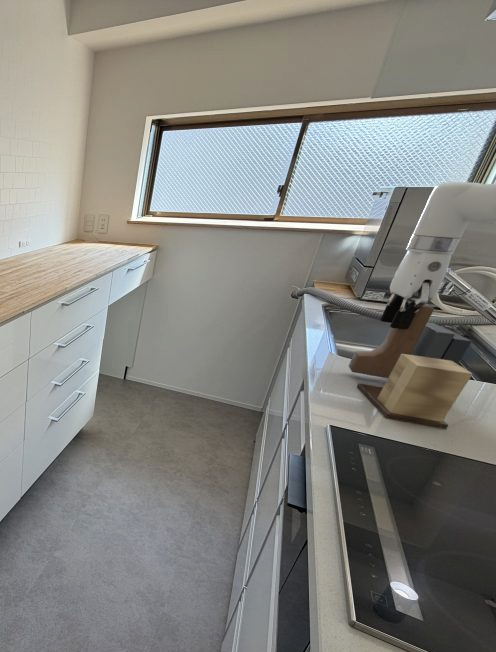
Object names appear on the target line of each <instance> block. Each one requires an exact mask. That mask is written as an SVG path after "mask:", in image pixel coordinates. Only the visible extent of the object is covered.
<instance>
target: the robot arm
mask: <svg viewBox="0 0 496 652" xmlns="http://www.w3.org/2000/svg"><path fill="white" fill-rule="evenodd" d="M470 221H476V222H477V221H478V222H484V223H491V224H496V183H481V182H470V181H450V182H449V181H447V182H441V183H439V184H437V185H436V186H435V187H434V188H433V189H432V192H431V193H430V195H429V198H428V200H427V202H426V204H425V206H424V208H423V211H422V213H421V215H420V217H419V220H418V222H417V224H416V227H415V228H414V230H413V232H412V235H411V237H410V239H409V242H408V243H407V246H406V248H405V251H406V253H405V255H404V257H403V259H402V260H401V262H400V264H399V265H398V267H397V269H396V271H395V273H394V275H393V278H392V280H391V282H390V285H389V291H390V294H389V298H388V300H387V302H386V306H385V308H384V310H383V313H382V315H381V317H380V319H379V321H380V322H381V323H382V322H383V323H390V325H389V327H390V328H397V329H408V328H409V326H410V324H411V322H412V320H413V318H414V316H415V314H416V313H417V312H418V311H419V308H421V307H422V306H423V305H425V304H428V303H429V301H433V300H434V299H435V298H436V296H437V294H438V292H439V290H440V288H441V285H442V284H443V281H444V279H445V276H446V274H447V271H448V269H449V266H450V262H451V259H452V255H453V254H454V253H455V250H456V249H457V247H458V245H459V243H460V241H461V239H462V236H463V235H464V233H465V231H466V229H467V227H468V225H469V223H470ZM408 302H411V303H410V304H408ZM401 305H402V306H401ZM400 307H401V309H400ZM399 310H400V311H399Z"/></svg>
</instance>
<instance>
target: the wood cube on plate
mask: <svg viewBox="0 0 496 652" xmlns="http://www.w3.org/2000/svg"><path fill="white" fill-rule="evenodd" d="M472 376H473V373H472V372H471V371H469V370H467V369H466V368H465V367H463V366H461V365H459V363H458V364H456V363H455V362H453V361H450V360H443V359H436V358H429V357H422V356H415V355H408V354H401V355H400V357H399V359H398V361H397V363H396V365H395V366H394V368H393V370H392V372H391V374H390V376H389V378H386V381H385V383H384V385H383V386H377V385H371V384H365V383H360V382H359V383H358V384H357V385H356V388H357V389H358V390H359V391H360V392H361V393H362V394H363V395H364V397H366V398H367V400H368V401H369V402H370V403H371V404H372V405H373V407H375V408H376V409H377V411H378V412H379V413H380V414H381V415H382V416H383V417H384V418H385V419H389V420H395V421H399V422H400V421H401V422H407V423H411V424H417V425H422V426H428V427H432V428H433V427H434V428H438V429H443V430H447V429H448V427H449V423H447V422H446V421H445V418H446V416H447V415H448V413H449V412H450V411H451V409H452V407H453V406H454V404H455V402H456V401H457V400H458V398H459V396H460V395H461V392H463V390H464V389H465V387H466V385H467V383H468V382H469V381H470V379H471V378H472Z"/></svg>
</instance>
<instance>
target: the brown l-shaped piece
mask: <svg viewBox="0 0 496 652" xmlns="http://www.w3.org/2000/svg"><path fill="white" fill-rule="evenodd" d="M411 302H412V301H409V302H408V304H410V303H411ZM401 306H402V305H401ZM400 309H401V307H400ZM399 311H400V310H399ZM434 311H435V307H433V306H432V305H430V304H428V303H426V304H425V305H423V306H422V307H421V308H419V311H418V312H417V313H416V314H415V316H414V318H413V320H412V322H411V324H410V326H409V328H408V329H397V328H391V327H390V328H389V330H388V332H387V335H386V337H385V338H384V341H383V342H382V343H381V344H380V345H379V346H378V347H376V348H374V349H372V350H355V352H354V353H353V355H352V356H351V360H350V362H349V364H348V367H349V370H350V371H351V373H355V374H360V375H366V376H371V377H378V378H383V379H388V378H389V376H390V374H391V372H392V370H393V368H394V366H395V365H396V363H397V361H398V359H399V357H400V355H401V354H408V355H411V353H412V351H413V349H414V347H415V346H416V344H417V342H418V340H419V338H420V336H421V334H422V332H423V330H424V328H425V326H426V324H427V323H429V320H430V318H431V317H432V314H433V313H434Z"/></svg>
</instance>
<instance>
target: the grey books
mask: <svg viewBox="0 0 496 652" xmlns="http://www.w3.org/2000/svg"><path fill="white" fill-rule="evenodd" d="M472 342H473V341H472V340H471V339H469V338H466V337H464V336H462V335H461V334H460V333H457V332H455V331H453V330H451V329H449V328H444V327H442V326H441V325H438V324H436V323H435V322H427V324H426V326H425V328H424V330H423V332H422V334H421V336H420V338H419V340H418V342H417V344H416V346H415V347H414V349H413V351H412V353H411V355H415V356H422V357H429V358H436V359H443V360H450V361H453V362H455V363H456V364H458V365H459V363H460V362H461V360H462V358H463V357H464V355H465V353H466V352H467V350H468V348H469V347H470V346H471V343H472Z"/></svg>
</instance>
